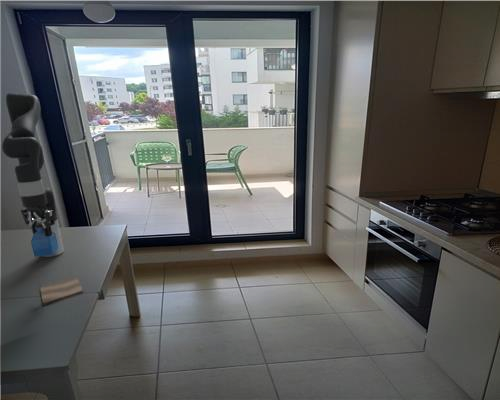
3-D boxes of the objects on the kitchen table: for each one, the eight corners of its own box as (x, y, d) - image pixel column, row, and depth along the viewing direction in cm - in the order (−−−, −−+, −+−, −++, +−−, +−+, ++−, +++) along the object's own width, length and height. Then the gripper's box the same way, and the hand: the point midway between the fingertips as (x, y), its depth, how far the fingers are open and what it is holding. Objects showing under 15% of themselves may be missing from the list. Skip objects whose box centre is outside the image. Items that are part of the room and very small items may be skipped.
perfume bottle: (53, 254, 113) (46, 225, 110) (34, 256, 111) (27, 227, 108) (58, 247, 119) (52, 219, 115) (40, 250, 117) (33, 221, 114)
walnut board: (40, 289, 118) (40, 287, 117) (77, 278, 125) (77, 276, 125) (43, 305, 108) (42, 303, 107) (83, 292, 115) (82, 290, 115)
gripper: (56, 191, 110) (65, 233, 114) (28, 189, 114) (38, 230, 119) (37, 196, 103) (47, 241, 107) (8, 194, 107) (19, 237, 112)
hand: (42, 235), depth 113 cm, fingers closed on perfume bottle, 5 cm apart
